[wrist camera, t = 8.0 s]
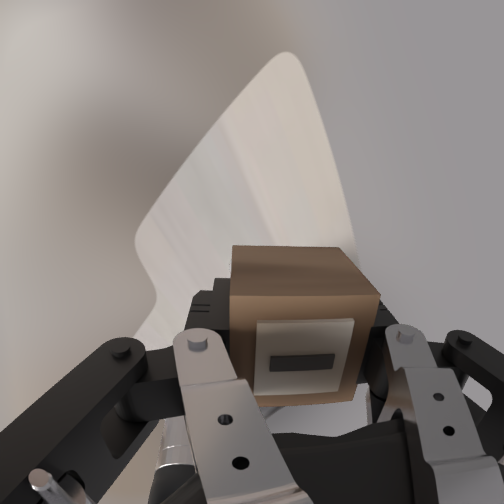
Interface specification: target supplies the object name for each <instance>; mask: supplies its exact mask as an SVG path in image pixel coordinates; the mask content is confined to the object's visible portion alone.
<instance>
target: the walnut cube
mask: <svg viewBox="0 0 504 504" xmlns="http://www.w3.org/2000/svg"><path fill="white" fill-rule="evenodd" d="M380 296H381V294H380V293H379V292H378V291H377V290H376V289H375V287H374V286H373V285H372V284H371V283H370V282H369V281H368V279H367V278H366V277H365V276H364V275H363V274H362V273H361V271H360V270H359V269H358V268H357V267H356V266H355V265H354V264H353V262H352V261H351V260H350V259H349V258H348V257H347V256H346V255H345V254H344V252H343V251H342V250H341V249H340V248H339V247H292V246H239V245H233V247H232V263H231V280H230V361H231V363H232V366H233V368H234V371H235V373H236V376H237V378H242V377H244V378H245V379H246V381H247V382H248V385H249V387H250V389H251V391H252V393H253V396H254V398H255V400H256V402H257V404H258V407H274V406H297V405H312V404H325V403H335V402H344V401H352V400H353V397H354V394H355V391H356V387H357V384H356V381H357V377H358V374H359V371H360V367H361V363H362V360H363V356H364V353H365V349H366V345H367V341H368V337H369V333H370V329H371V327H373V326H374V322H375V318H376V314H377V309H378V305H379V300H380Z"/></svg>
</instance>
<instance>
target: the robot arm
mask: <svg viewBox="0 0 504 504" xmlns="http://www.w3.org/2000/svg"><path fill="white" fill-rule="evenodd" d="M230 280H231V278H215V280H214V286H213V291H205V290H200V291H199V292H198V293H197V294H196V295H195V296H193V299H192V303H191V307H190V312H189V314H188V318H187V321H186V325H185V329H184V331H182V332H180V333H179V334H177V335H176V336H175V338H174V339H173V345H172V346H170V347H167V348H164V349H159V350H151V351H146V350H145V346H144V345H143V343H142V342H140V341H139V340H137V339H134V338H128V337H122V338H115V339H112V340H109V341H107V342H105V343H104V344H102V345H101V346H100V347H99V348H98V349H96V350H95V351H94V352H93V353H92V354H91V355H89V356H88V357H87V358H86V359H85V360H84V361H82V362H81V363H80V364H79V365H77V366H76V367H75V368H74V369H73V370H72V371H70V372H69V373H68V374H67V375H66V376H65V377H63V378H62V379H61V380H60V381H59V382H58V383H56V384H55V385H54V386H53V387H52V388H51V389H49V390H48V391H47V392H46V393H45V394H44V395H42V396H41V397H40V398H39V399H38V400H37V401H36V402H34V403H33V404H32V405H31V406H30V407H29V408H28V409H26V410H25V411H24V412H23V413H22V414H21V415H20V416H18V417H17V418H16V419H15V420H14V421H13V422H12V423H11V424H9V425H8V426H7V427H6V428H5V429H4V430H3V431H1V432H0V504H97V503H98V502H99V500H100V499H101V498H102V497H103V495H104V494H105V493H106V491H107V490H108V489H109V488H110V486H111V485H112V484H113V483H114V481H115V480H116V479H117V477H118V476H119V475H120V473H121V472H122V471H123V469H124V468H125V467H126V465H127V464H128V463H129V461H130V460H131V459H132V457H133V456H134V455H135V453H136V452H137V451H138V449H139V448H140V447H141V445H142V444H143V443H144V441H145V440H146V439H147V437H148V436H149V435H150V433H151V432H152V431H153V429H154V428H155V427H156V425H157V424H158V422H159V419H166V421H165V425H164V430H163V435H162V439H161V444H160V450H159V454H158V460H157V465H156V470H155V475H154V480H153V484H152V487H151V491H150V495H149V501H148V504H504V354H502V353H501V352H499V351H497V350H496V349H495V348H493V347H492V346H490V345H489V344H487V343H485V342H484V341H482V340H481V339H479V338H478V337H476V336H475V335H473V334H471V333H469V332H466V331H462V330H454V331H450V332H449V333H448V334H447V336H446V339H445V342H444V343H437V342H427V340H426V338H425V336H424V334H423V333H422V332H421V331H420V330H418V329H417V328H414V327H413V326H409V325H405V324H399V323H398V321H397V320H396V319H395V318H394V316H393V315H392V314H391V313H390V311H389V310H387V308H386V307H385V305H383V303H382V302H381V300H379V305H378V309H377V314H376V318H375V322H374V326H373V327H371V329H370V333H369V337H368V341H367V345H366V349H365V353H364V356H363V360H362V363H361V367H360V371H359V374H358V377H357V381H356V384H361V383H368V385H369V386H368V389H367V392H366V409H367V426H365V427H362V428H360V429H357V430H355V431H352V432H349V433H347V434H344V435H341V436H338V437H326V436H316V435H307V434H299V433H277V434H271V432H270V430H269V428H268V426H267V424H266V422H265V420H264V417H263V415H262V413H261V411H260V409H259V407H258V404H257V402H256V400H255V398H254V396H253V393H252V391H251V389H250V387H249V385H248V382H247V381H246V379H245V378H244V377H242V378H237V376H236V373H235V371H234V368H233V366H232V363H231V361H230ZM469 376H470V377H472V378H473V379H474V380H476V381H477V382H478V383H480V384H481V385H482V386H484V387H485V388H486V389H488V390H489V391H490V392H491V394H492V399H493V400H492V404H491V406H490V407H489V409H488V410H487V412H486V411H485V410H483V409H482V408H481V407H479V406H478V405H477V404H476V403H475V402H473V401H472V400H471V399H470V398H468V397H467V396H466V395H465V394H463V393H462V389H463V387H464V385H465V383H466V381H467V379H468V377H469Z"/></svg>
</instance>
